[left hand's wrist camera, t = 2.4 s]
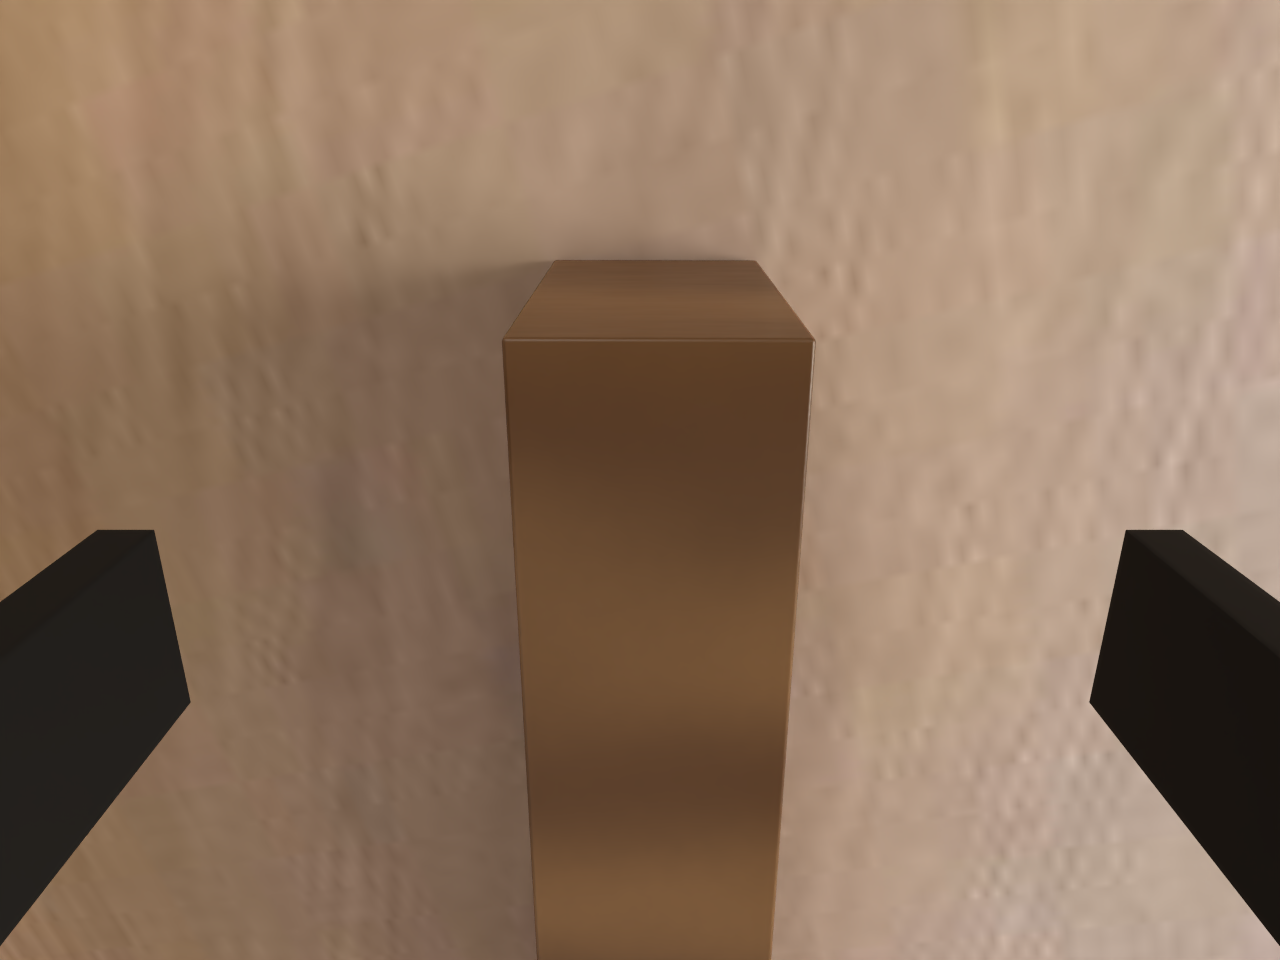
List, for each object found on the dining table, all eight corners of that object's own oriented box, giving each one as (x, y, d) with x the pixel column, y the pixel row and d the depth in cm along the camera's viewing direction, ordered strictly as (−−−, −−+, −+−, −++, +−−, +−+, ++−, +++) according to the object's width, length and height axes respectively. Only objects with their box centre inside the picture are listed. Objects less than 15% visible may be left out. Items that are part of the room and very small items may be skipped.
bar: (553, 260, 21) (501, 338, 13) (757, 260, 21) (816, 338, 13) (580, 1042, 30) (558, 1342, 23) (720, 1043, 30) (743, 1344, 23)
